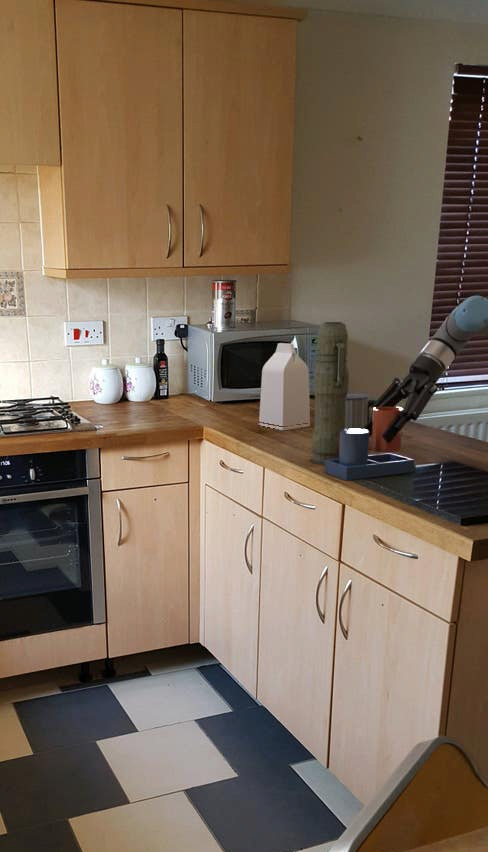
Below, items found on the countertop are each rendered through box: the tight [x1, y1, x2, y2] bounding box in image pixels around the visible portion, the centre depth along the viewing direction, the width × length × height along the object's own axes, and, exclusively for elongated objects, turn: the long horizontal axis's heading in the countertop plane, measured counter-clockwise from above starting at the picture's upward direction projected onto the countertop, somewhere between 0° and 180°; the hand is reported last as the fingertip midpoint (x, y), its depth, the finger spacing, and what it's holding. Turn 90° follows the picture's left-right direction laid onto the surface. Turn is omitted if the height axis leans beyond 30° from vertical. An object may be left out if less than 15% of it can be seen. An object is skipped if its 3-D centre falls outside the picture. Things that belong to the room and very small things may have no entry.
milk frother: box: [345, 393, 378, 429], centre depth 245 cm, size 14×16×15 cm
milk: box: [258, 342, 311, 431], centre depth 280 cm, size 12×12×26 cm
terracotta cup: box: [370, 406, 404, 453], centre depth 214 cm, size 7×7×10 cm
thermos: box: [311, 321, 350, 465], centre depth 224 cm, size 9×12×35 cm
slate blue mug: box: [339, 429, 370, 467], centre depth 212 cm, size 7×7×10 cm
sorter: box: [324, 452, 415, 481], centre depth 215 cm, size 10×19×3 cm, turn 111°
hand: (375, 436), depth 213 cm, fingers closed on terracotta cup, 7 cm apart
